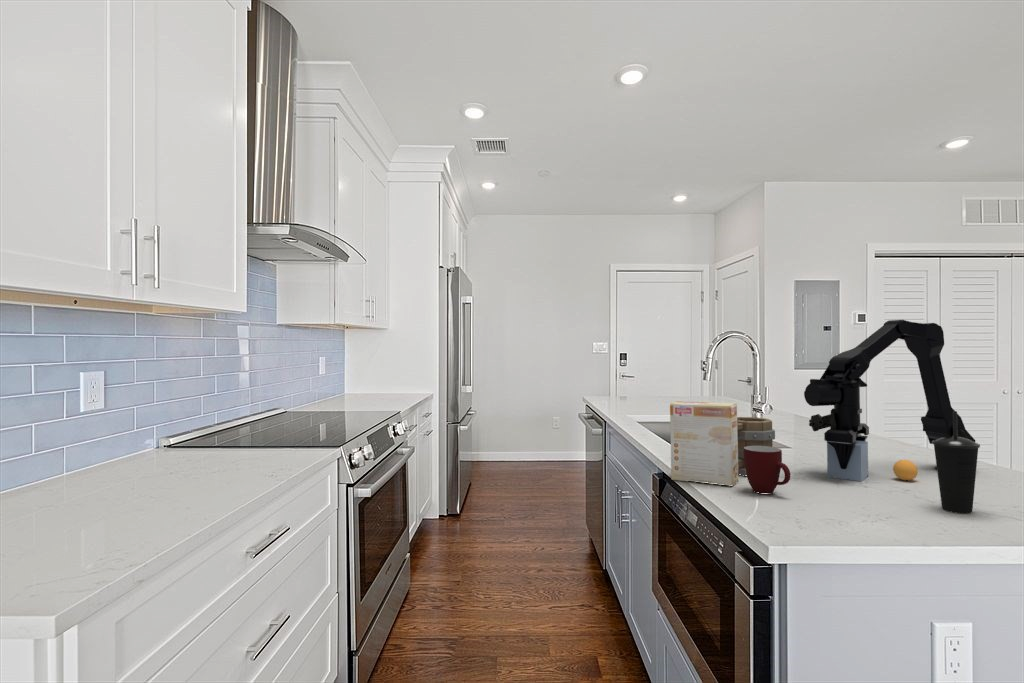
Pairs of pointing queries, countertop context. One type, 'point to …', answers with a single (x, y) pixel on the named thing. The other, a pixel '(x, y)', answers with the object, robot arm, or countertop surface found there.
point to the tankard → (752, 436)
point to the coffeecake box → (704, 442)
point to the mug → (764, 468)
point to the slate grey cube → (856, 464)
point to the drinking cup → (956, 470)
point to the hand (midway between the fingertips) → (847, 466)
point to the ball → (905, 470)
